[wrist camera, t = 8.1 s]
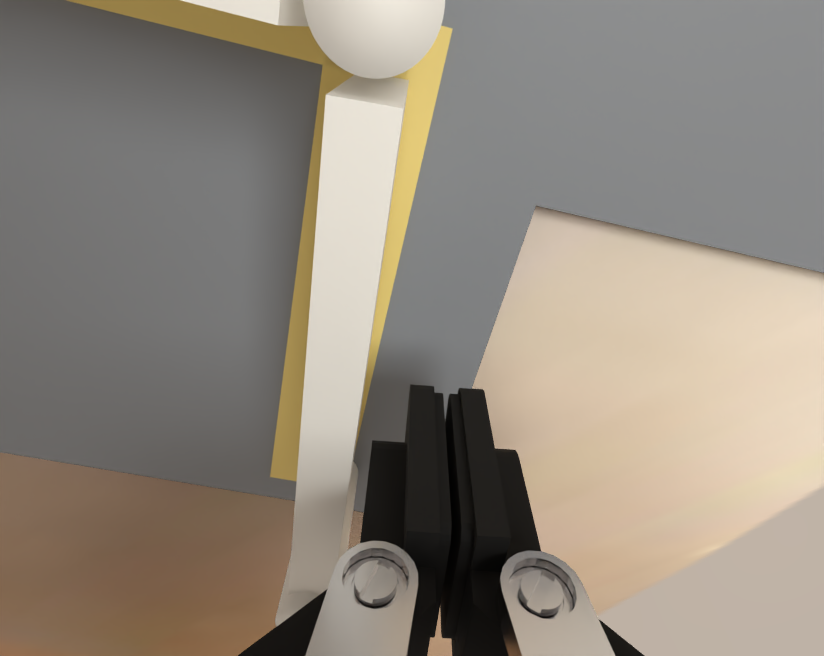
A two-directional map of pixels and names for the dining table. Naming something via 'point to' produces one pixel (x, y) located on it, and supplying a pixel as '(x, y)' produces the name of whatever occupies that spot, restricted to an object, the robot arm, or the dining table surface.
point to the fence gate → (341, 321)
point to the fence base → (299, 184)
